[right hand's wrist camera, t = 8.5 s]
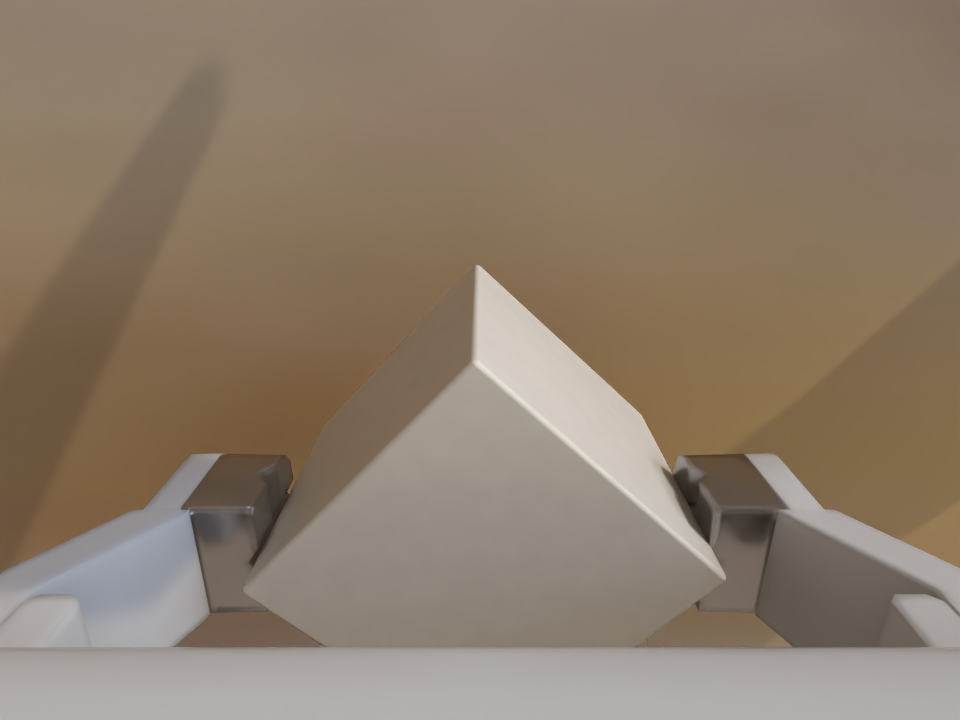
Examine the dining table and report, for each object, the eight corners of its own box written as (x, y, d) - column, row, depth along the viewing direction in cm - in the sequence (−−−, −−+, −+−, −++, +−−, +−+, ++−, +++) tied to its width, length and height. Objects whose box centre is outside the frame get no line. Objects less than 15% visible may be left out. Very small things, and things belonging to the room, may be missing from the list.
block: (642, 415, 12) (730, 580, 8) (486, 549, 14) (488, 756, 9) (477, 262, 11) (474, 358, 7) (323, 425, 12) (238, 593, 8)
